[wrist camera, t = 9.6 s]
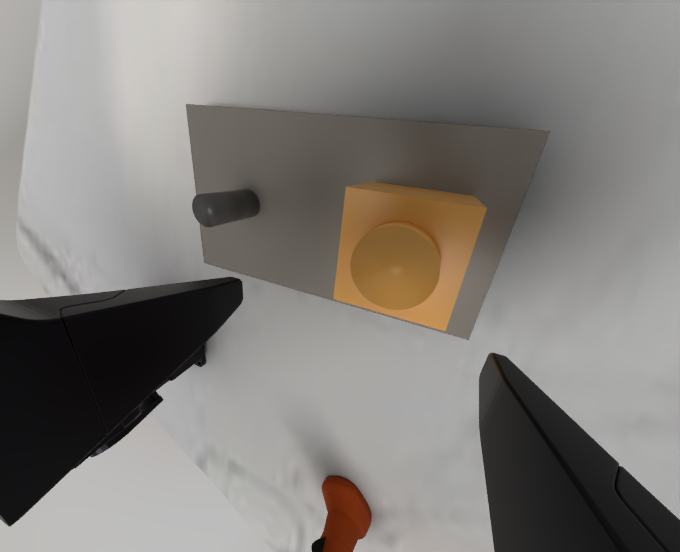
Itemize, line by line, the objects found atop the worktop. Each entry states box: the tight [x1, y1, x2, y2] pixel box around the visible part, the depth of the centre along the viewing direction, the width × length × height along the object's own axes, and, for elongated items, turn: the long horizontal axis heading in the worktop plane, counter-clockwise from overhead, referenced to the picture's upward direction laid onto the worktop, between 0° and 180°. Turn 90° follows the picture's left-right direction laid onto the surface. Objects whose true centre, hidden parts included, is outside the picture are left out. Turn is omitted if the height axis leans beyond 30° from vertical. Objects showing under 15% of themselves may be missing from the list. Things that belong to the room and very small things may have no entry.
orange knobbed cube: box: [333, 182, 487, 331], centre depth 13 cm, size 6×6×6 cm
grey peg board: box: [186, 104, 550, 340], centre depth 17 cm, size 22×12×6 cm, turn 84°
